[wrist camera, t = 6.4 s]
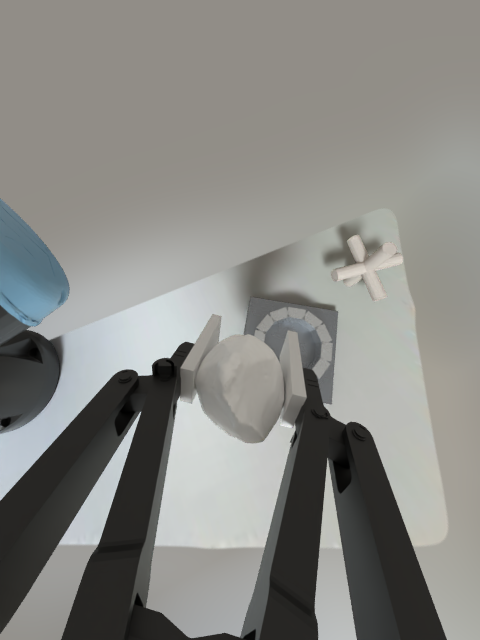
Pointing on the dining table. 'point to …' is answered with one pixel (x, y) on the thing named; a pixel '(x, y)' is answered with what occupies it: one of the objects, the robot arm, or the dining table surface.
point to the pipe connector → (368, 266)
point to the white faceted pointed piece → (241, 387)
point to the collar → (313, 335)
